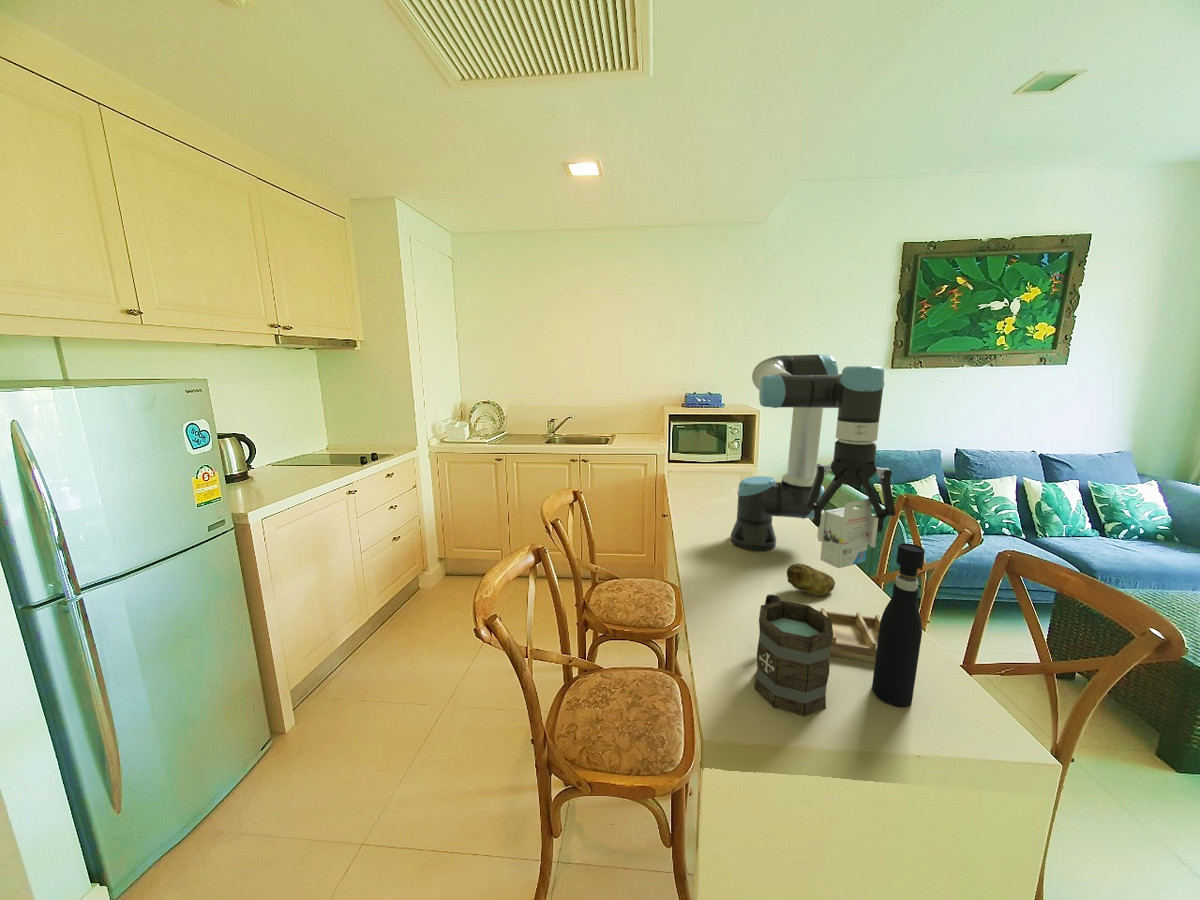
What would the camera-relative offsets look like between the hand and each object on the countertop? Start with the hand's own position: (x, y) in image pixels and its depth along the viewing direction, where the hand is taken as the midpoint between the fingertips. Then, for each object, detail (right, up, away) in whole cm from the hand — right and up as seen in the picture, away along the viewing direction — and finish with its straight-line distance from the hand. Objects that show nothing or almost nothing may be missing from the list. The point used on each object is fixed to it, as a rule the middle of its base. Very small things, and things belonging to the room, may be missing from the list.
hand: (845, 542), depth 95 cm
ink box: (0, -5, +1) cm, 5 cm away
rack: (0, -23, +5) cm, 24 cm away
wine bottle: (+2, -27, -12) cm, 29 cm away
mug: (-17, -26, -7) cm, 32 cm away
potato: (+4, -19, +25) cm, 32 cm away
